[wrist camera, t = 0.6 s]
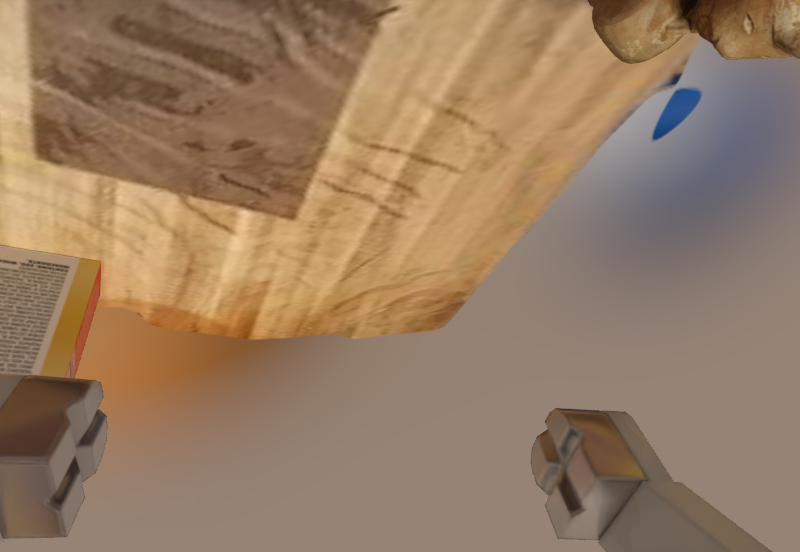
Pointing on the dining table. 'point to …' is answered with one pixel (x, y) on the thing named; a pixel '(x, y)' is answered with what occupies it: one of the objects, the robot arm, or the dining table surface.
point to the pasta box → (45, 311)
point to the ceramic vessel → (699, 26)
